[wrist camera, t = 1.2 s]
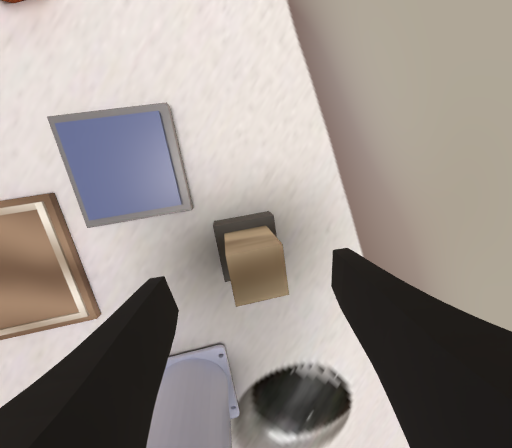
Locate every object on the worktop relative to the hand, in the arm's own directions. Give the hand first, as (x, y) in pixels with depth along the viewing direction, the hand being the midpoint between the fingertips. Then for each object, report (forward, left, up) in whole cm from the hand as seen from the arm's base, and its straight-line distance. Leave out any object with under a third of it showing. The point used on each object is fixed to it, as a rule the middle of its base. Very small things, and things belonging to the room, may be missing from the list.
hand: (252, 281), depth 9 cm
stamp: (-2, -1, -11) cm, 11 cm away
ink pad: (+6, +7, -11) cm, 14 cm away
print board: (0, +19, -11) cm, 22 cm away
